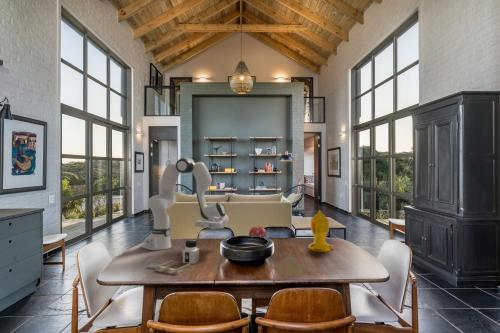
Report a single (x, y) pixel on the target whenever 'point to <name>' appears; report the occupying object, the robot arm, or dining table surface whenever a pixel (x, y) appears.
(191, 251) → the container
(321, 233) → the yellow statue
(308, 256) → the dining table surface
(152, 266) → the slate tile
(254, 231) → the decorative mushroom
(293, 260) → the model pyramid
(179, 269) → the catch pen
